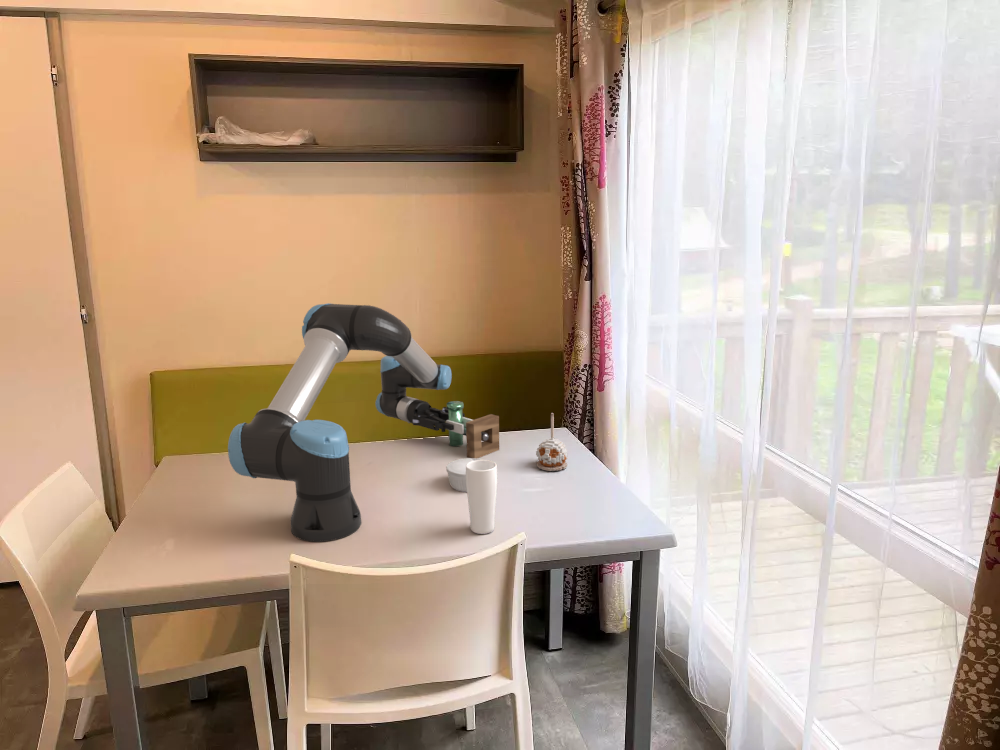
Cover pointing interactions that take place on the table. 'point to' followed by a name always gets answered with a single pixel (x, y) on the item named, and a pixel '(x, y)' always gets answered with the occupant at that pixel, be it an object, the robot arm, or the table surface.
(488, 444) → the brown striped block
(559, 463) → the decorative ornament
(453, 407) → the green tall capped cylinder
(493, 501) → the drinking glass
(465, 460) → the ramekin
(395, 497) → the table surface
